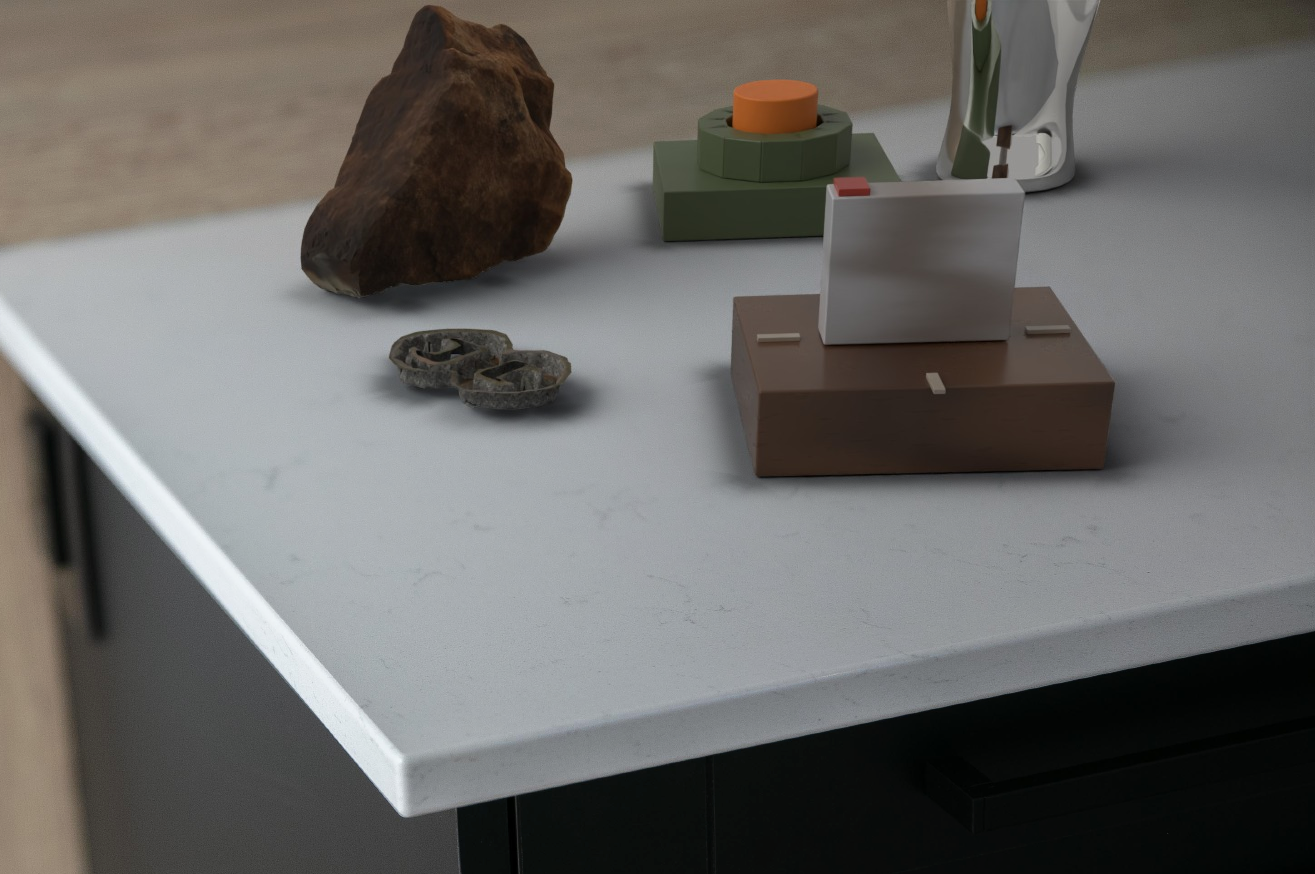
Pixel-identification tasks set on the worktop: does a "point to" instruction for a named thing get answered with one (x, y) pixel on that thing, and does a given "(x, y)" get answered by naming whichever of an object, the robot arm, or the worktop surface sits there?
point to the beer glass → (1014, 89)
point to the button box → (759, 177)
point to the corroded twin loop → (480, 367)
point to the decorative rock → (443, 165)
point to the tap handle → (919, 260)
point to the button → (775, 106)
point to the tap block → (918, 395)
